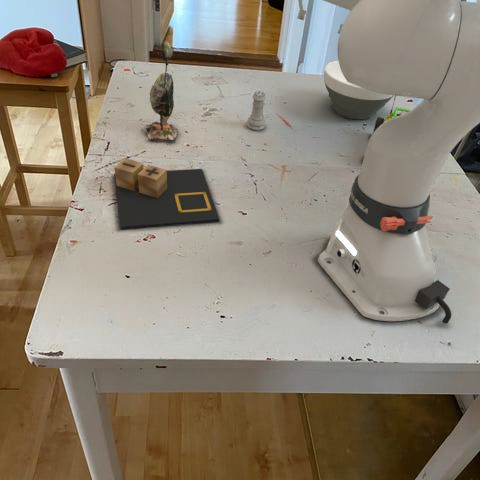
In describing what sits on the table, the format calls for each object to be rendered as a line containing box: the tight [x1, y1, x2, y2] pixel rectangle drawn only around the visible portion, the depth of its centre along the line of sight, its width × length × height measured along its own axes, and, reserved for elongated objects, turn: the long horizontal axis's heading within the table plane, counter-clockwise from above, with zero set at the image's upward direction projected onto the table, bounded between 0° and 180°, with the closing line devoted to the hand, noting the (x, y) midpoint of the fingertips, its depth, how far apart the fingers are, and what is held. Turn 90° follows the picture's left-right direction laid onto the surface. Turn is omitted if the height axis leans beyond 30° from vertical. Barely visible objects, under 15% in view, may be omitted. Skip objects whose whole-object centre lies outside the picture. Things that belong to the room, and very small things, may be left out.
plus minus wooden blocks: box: [114, 157, 168, 198], centre depth 91 cm, size 4×9×4 cm, turn 68°
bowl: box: [323, 59, 395, 120], centre depth 123 cm, size 20×20×10 cm
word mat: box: [113, 168, 220, 230], centre depth 91 cm, size 18×18×1 cm
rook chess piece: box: [246, 90, 267, 131], centre depth 112 cm, size 4×4×8 cm
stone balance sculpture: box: [144, 40, 179, 142], centre depth 102 cm, size 8×11×20 cm
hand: (320, 26), depth 103 cm, fingers open, 8 cm apart
